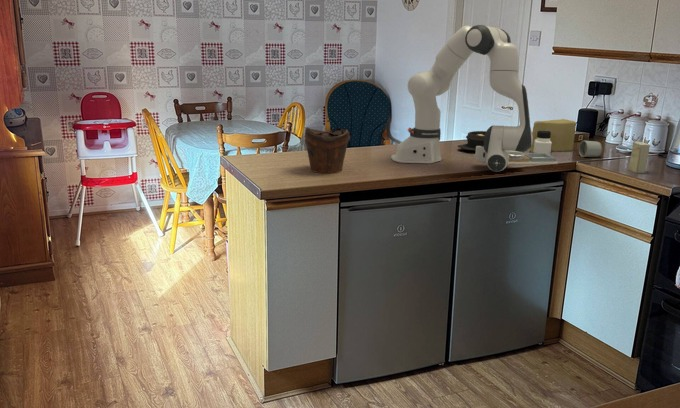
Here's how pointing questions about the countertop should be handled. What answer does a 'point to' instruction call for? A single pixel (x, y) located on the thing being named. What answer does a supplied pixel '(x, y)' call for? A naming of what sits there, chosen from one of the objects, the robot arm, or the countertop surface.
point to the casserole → (474, 140)
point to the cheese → (557, 133)
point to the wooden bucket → (326, 149)
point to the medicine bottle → (543, 142)
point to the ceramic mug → (590, 149)
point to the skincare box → (639, 157)
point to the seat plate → (535, 159)
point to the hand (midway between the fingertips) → (500, 149)
